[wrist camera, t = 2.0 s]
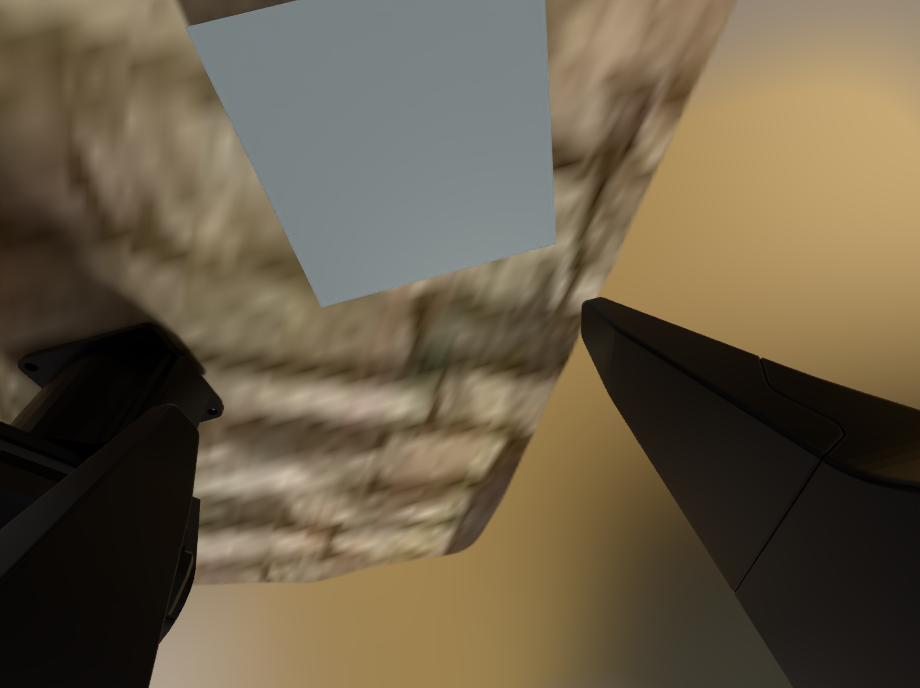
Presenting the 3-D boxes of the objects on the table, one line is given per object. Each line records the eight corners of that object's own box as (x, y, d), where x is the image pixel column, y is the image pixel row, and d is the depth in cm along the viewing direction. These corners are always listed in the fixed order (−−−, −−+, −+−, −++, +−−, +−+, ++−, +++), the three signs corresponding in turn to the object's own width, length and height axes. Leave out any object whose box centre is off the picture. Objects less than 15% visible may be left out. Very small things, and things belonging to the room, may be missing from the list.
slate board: (322, 297, 21) (321, 307, 20) (194, 27, 14) (185, 27, 13) (548, 236, 21) (555, 243, 20) (532, -54, 14) (542, -60, 14)
